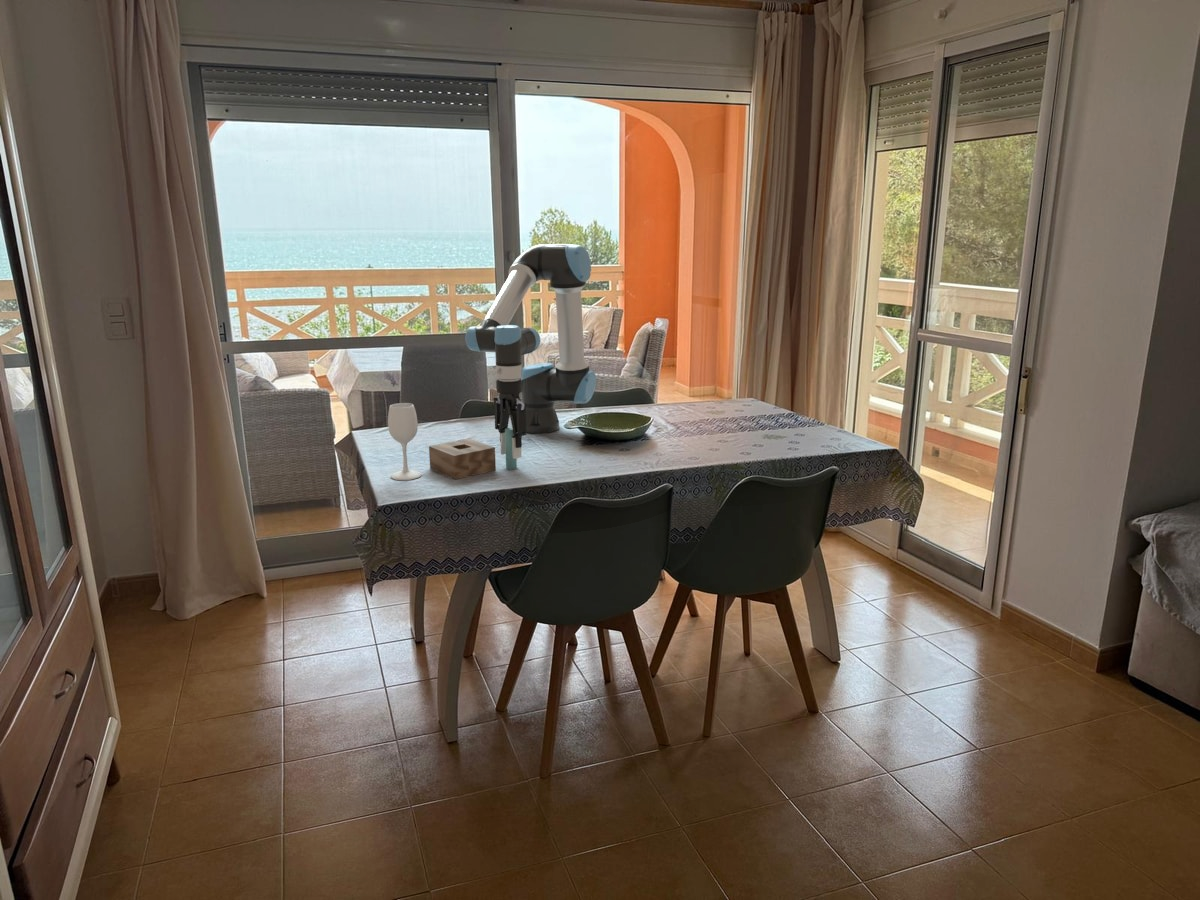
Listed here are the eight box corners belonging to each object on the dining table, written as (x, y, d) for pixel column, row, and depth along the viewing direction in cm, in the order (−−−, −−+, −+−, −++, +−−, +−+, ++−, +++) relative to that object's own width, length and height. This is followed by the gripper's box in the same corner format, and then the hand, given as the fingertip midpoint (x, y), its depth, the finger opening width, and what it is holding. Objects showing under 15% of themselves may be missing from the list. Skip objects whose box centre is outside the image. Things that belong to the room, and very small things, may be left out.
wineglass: (423, 471, 237) (419, 402, 231) (418, 480, 228) (414, 408, 223) (394, 471, 236) (389, 402, 231) (387, 480, 228) (382, 408, 222)
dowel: (512, 465, 243) (511, 427, 240) (518, 467, 241) (517, 429, 237) (503, 467, 241) (502, 428, 238) (510, 469, 239) (509, 430, 235)
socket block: (470, 460, 248) (469, 438, 246) (495, 470, 238) (494, 447, 236) (430, 468, 239) (428, 446, 238) (455, 479, 229) (453, 455, 227)
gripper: (480, 376, 238) (483, 451, 244) (516, 385, 225) (518, 464, 231) (501, 373, 243) (503, 447, 249) (538, 381, 229) (539, 459, 236)
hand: (511, 455), depth 240 cm, fingers open, 5 cm apart
